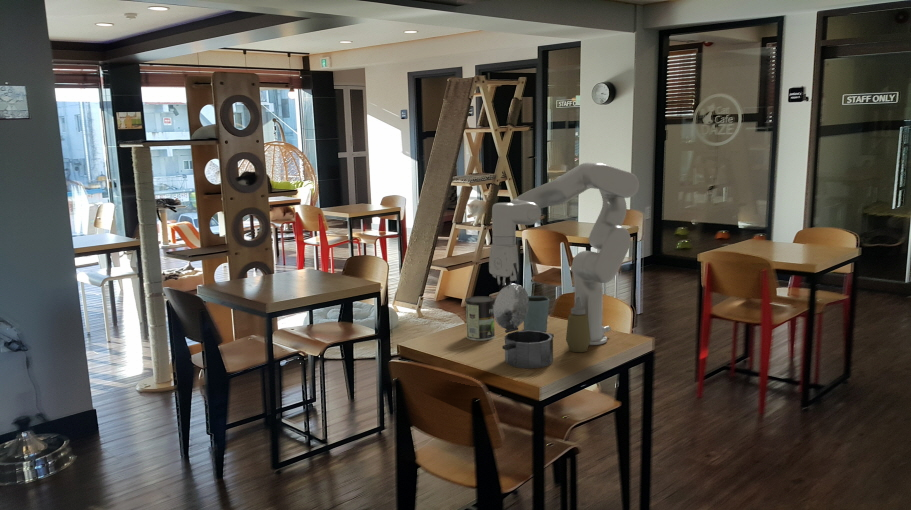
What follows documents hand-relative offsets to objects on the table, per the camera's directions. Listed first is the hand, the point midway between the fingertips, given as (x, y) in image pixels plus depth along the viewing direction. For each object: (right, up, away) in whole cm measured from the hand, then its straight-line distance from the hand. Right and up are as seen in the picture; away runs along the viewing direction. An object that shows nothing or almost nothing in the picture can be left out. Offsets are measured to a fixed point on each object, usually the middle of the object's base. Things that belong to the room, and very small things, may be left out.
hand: (504, 296), depth 232 cm
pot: (+7, -20, -5) cm, 22 cm away
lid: (+2, -4, -2) cm, 5 cm away
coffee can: (-7, -16, +24) cm, 30 cm away
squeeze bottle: (+25, -19, +5) cm, 32 cm away
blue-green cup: (+14, -15, +31) cm, 37 cm away
